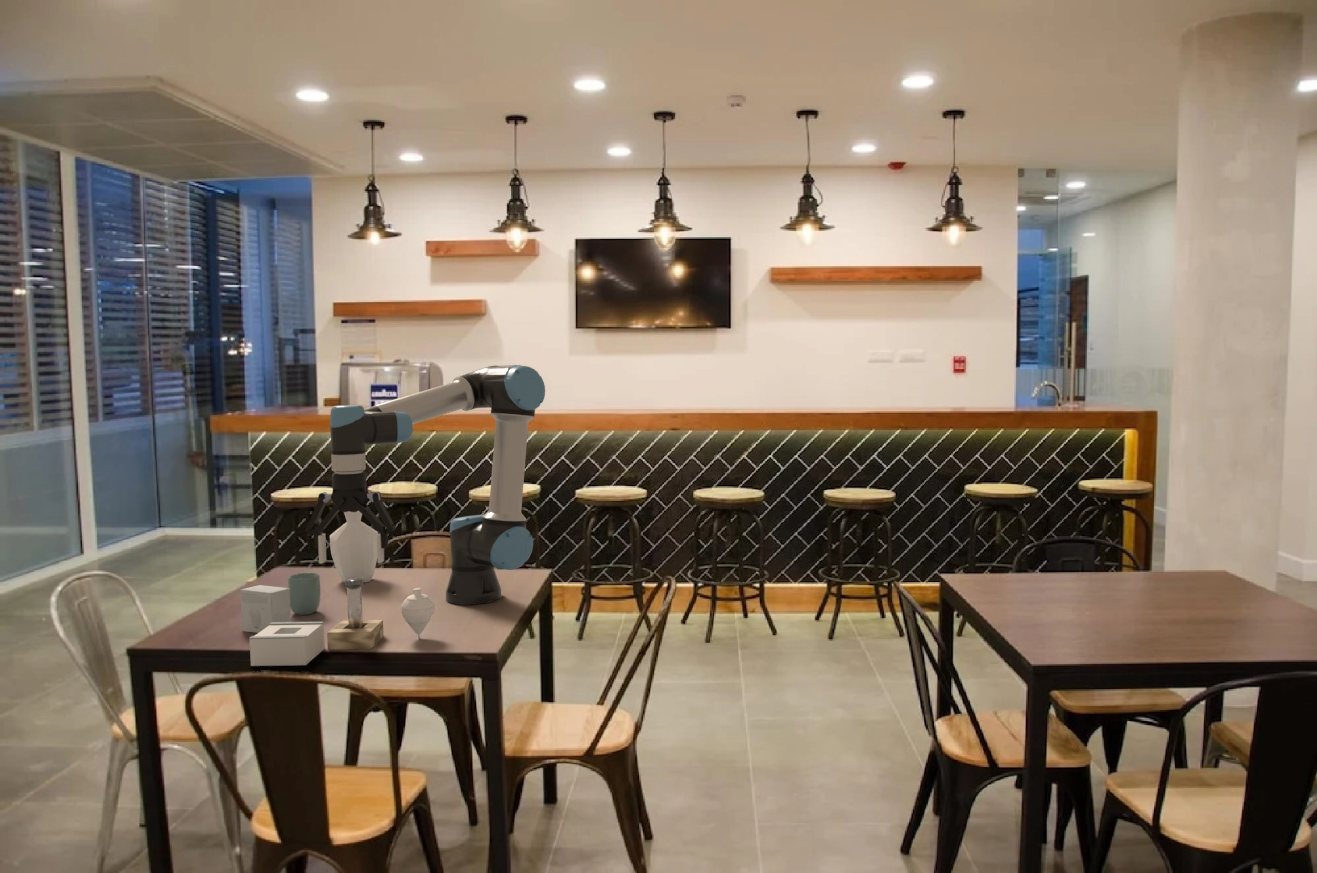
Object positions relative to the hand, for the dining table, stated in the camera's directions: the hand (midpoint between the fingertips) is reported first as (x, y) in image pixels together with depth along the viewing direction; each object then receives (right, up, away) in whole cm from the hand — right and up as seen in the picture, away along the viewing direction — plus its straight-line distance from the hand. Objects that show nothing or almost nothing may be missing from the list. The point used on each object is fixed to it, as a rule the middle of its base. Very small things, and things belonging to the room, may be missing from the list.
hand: (351, 562), depth 220 cm
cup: (-22, -17, +29) cm, 40 cm away
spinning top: (+14, -19, +5) cm, 24 cm away
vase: (-20, -14, +65) cm, 69 cm away
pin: (0, -19, +2) cm, 19 cm away
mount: (0, -19, +2) cm, 19 cm away
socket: (-12, -20, -8) cm, 25 cm away
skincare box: (-26, -19, +14) cm, 35 cm away
